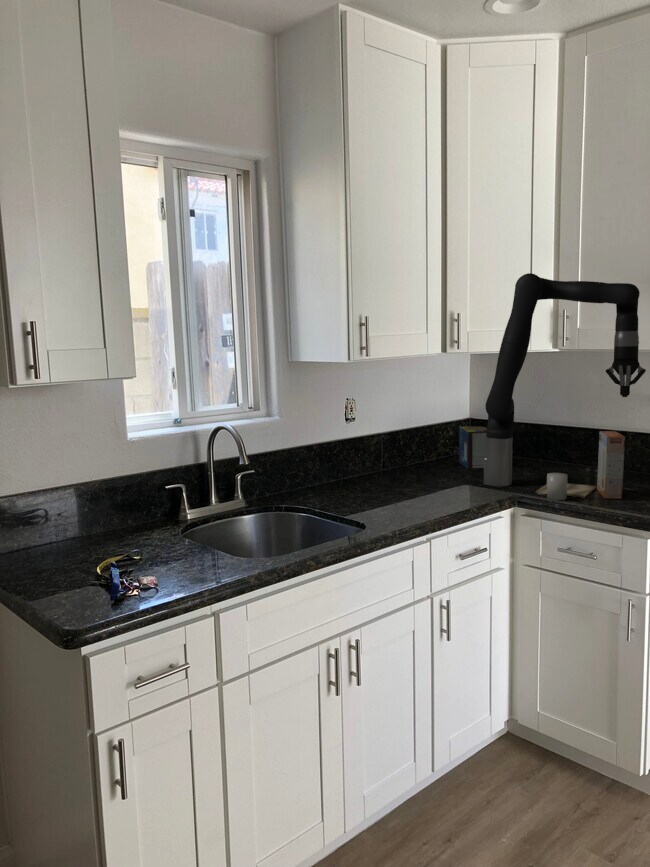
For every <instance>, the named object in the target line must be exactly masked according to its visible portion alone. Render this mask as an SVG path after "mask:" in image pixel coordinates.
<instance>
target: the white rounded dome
mask: <svg viewBox="0 0 650 867" xmlns="http://www.w3.org/2000/svg"><path fill="white" fill-rule="evenodd" d="M567 483H568V474H567V473H563V472H562V473H561V472H548V473H547V474H546V484H547V495H545V497H546V500H550V501H556V500H557V501H558V500H563V501H566V500H565V499H567V498H568V497H567ZM567 500H568V499H567Z"/></svg>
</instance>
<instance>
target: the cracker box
mask: <svg viewBox="0 0 650 867" xmlns="http://www.w3.org/2000/svg"><path fill="white" fill-rule="evenodd" d="M598 438H599V439H598V458H597V460H598V461H597V462H598V463H597V482H596V483H597V484H596V485H597V486H596V491H597V492H598V493H599V495H601V496H602V498H603V499H604V500H622V499H623V485H624V484H623V482H624V481H623V480H624V462H625V447H626V446H625V442H626V436H624V435H622V434H621V433H620V432H618V431H615V430H614V431H613V430H606V431H605V430H601V431H599V434H598Z"/></svg>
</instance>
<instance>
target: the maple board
mask: <svg viewBox="0 0 650 867" xmlns="http://www.w3.org/2000/svg"><path fill="white" fill-rule="evenodd" d="M593 490H594V491H595V490H597V486H596V485H588V484H586V485H585V484H577V483H568V482H567V496H573V497H572V498H575V497H581V498H580V499H586V498H587V497H588V496H590V495H591V494H592V493H593V492H594V491H593ZM592 491H593V492H592ZM536 493H537V495H545V494H547V483H546V484H545V485H543V486H541V487H540V488H539V489H538V488H537V490H535V494H536ZM587 495H588V496H587ZM586 496H587V497H586ZM585 497H586V498H585Z"/></svg>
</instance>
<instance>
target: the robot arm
mask: <svg viewBox="0 0 650 867" xmlns="http://www.w3.org/2000/svg"><path fill="white" fill-rule="evenodd" d="M514 285H515V286H514V295H513V300H512V307H511V312H510V315H509V319H508V322H507V323H506V327H505V329H504V333H503V337H502V340H501V344H500V347H499V352H498V356H497V360H496V361H497V362H496V367H495V368H496V369H495V374H494V379H493V382H492V385H491V388H490V391H489V393H488V395H487V399H486V401H485V404H484V406H485V411H486V414H487V416H488V417H487V426H486V428H487V430H486V458H484V468H483V485H486V486H490V487H508V486H512V484H513V483H512V482H513V481H512V480H513V478H512V477H513V441H514V440H513V438H514V437H513V436H514V434H513V433H514V428H515V427H514V426H515V425H514V424H515V402H514V399H513V394H514V388H515V385H516V382H517V378H518V377H519V375H520V373H521V370H522V369H523V365H524V364H525V363H524V362H525V360H526V358H527V354H528V350H529V345H530V341H531V333H532V321H533V317H534V316H533V315H534V312H535V309H536V306H537V303H538V301H541V300H542V301H543V300H563V301H571V302H578V303H590V304H612V305H615V307H616V308H615V309H616V311H615V313H616V316H615V327H614V328H615V330H614V331H615V332H614V337H613V338H614V339H613V360H612V364H611V366H610V367H609V368H607V369H605V373H606V375H608V377H609V378H610V379H611V380H612V382H613V383H614V384H616V385H618V386H620V387H619V395H620V396H621V398H628V396H630V393H631V391H630V390H631V385H635V384H636V383H637V382H638V381H639V380H640V378H642V376H644V374H645V373H646V371H647V370H646V368H643V367H642V366H640V365H641V364H640V362H639V344H640V339H639V338H640V337H639V316H638V315H639V314H638V312H639V311H638V310H639V298H640V289H639V288H638V286H636V285H635V284H633V283H628V282H627V283H626V282H625V283H624V282H623V283H622V282H621V283H620V282H616V283H615V282H613V283H612V282H610V283H608V282H601V281H591V280H590V281H588V280H573V281H571V280H568V281H566V280H564V281H563V280H553V279H548V278H545V277H540V276H539V275H537V274H536V273H529V272H528V273H524V274H523V275H521V276H520V277H519V278H518V279H517V281H516V283H515V284H514ZM615 372H616V374H617V375H618V377H619V379H618V378H617V376H616V374H614V373H615ZM635 372H637V374H636V375H635V377H634V378H632V375H634V374H635Z"/></svg>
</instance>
